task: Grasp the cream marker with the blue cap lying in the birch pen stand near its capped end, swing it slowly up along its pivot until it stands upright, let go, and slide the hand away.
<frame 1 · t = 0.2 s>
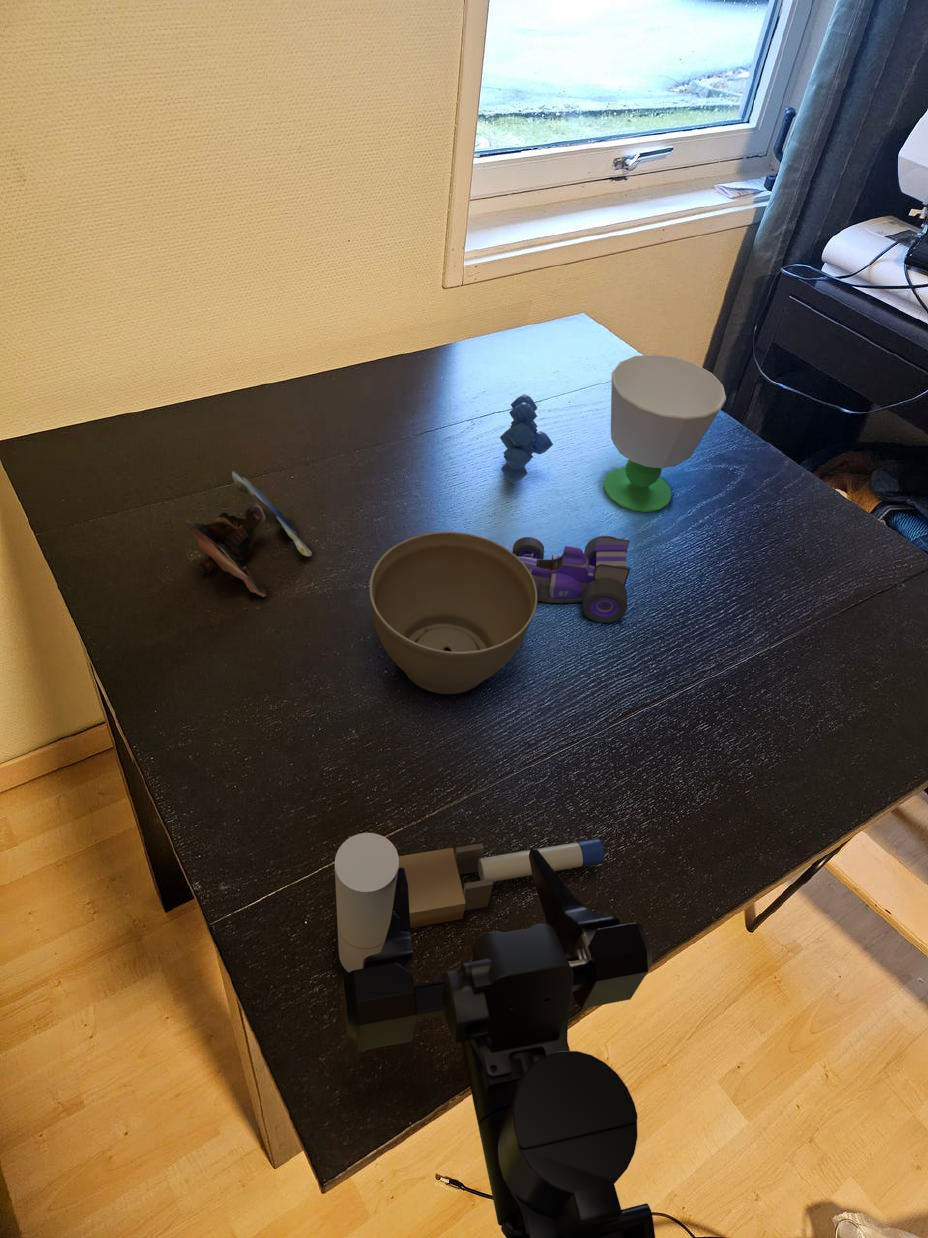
hand: (467, 860, 58), 15 cm above the table, tool horizontal, fingers open, 9 cm apart
cup: (636, 491, 113), on the table
grapes: (519, 480, 112), on the table
tube: (365, 951, 68), on the table
pen stand: (471, 888, 73), on the table
marker: (541, 860, 72), point 3 cm above the table, hinge at 0.0°
planter bowl: (445, 662, 90), on the table
figurine: (259, 559, 98), on the table
toy race car: (556, 588, 99), on the table
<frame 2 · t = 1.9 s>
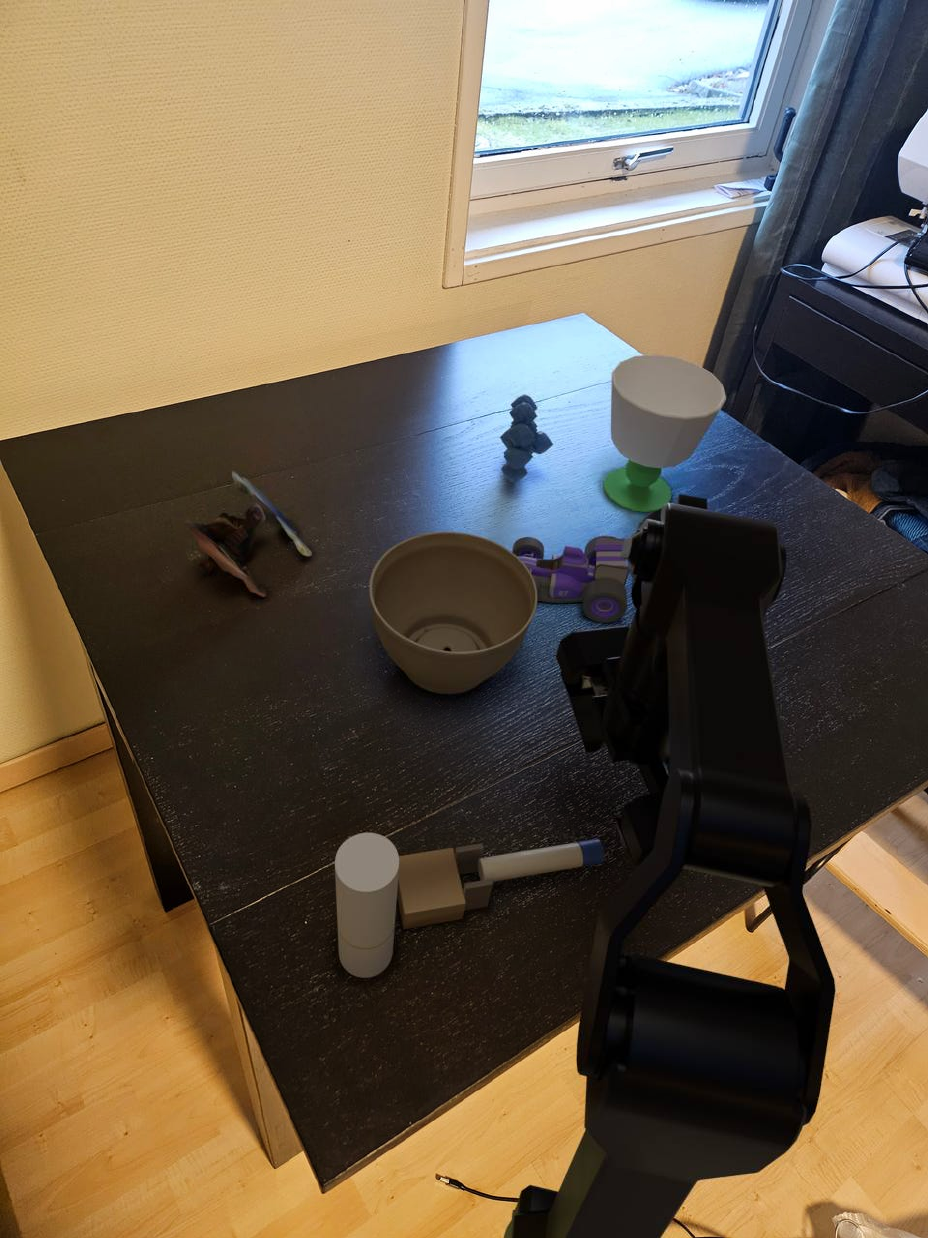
hand: (610, 799, 66), 12 cm above the table, tool pointing down, fingers open, 9 cm apart
nothing on the table moved.
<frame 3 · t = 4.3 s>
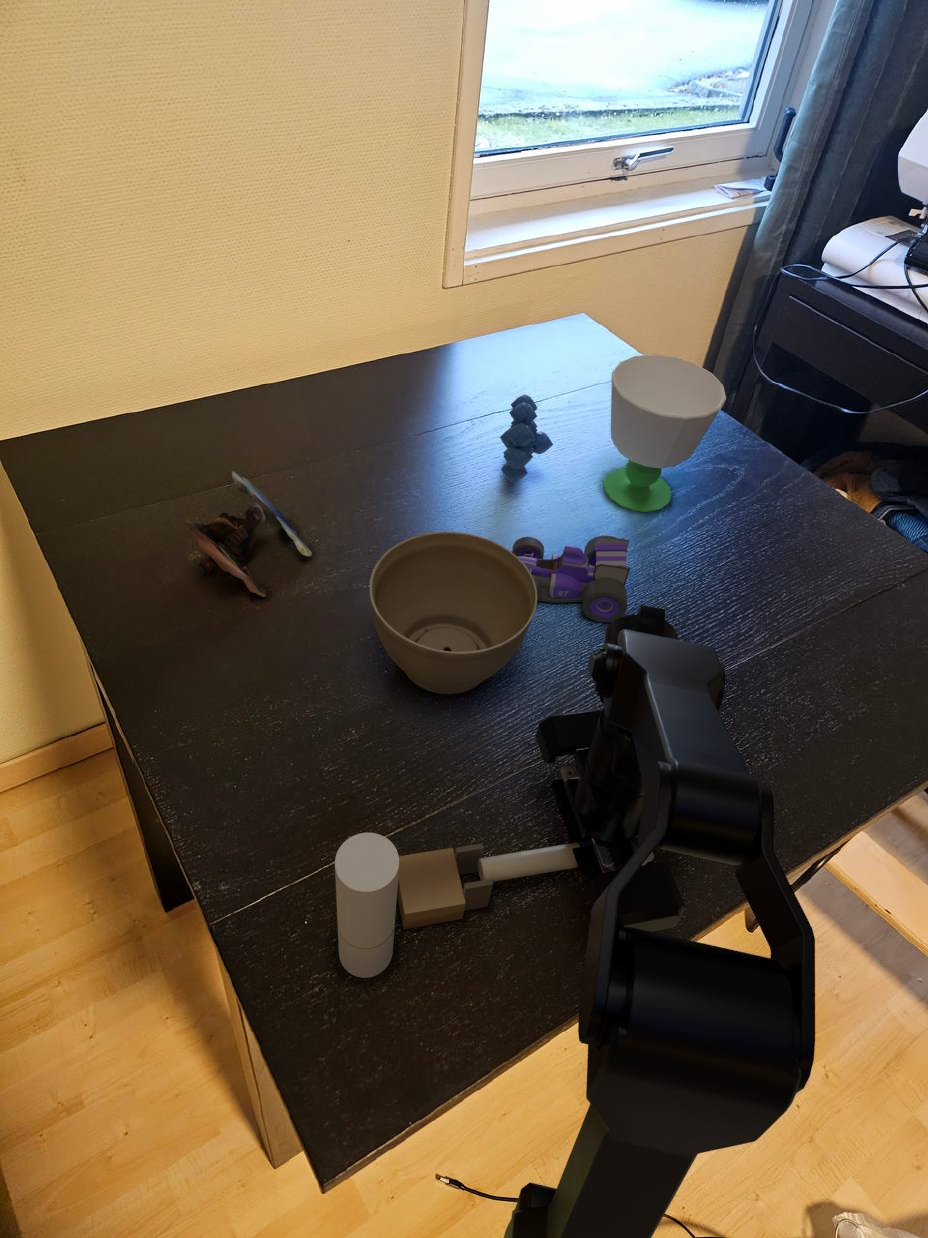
hand: (584, 864, 74), 1 cm above the table, tool pointing down, fingers closed on marker, 2 cm apart
marker: (541, 860, 72), point 3 cm above the table, hinge at 0.0°, touching gripper
everything else where it was.
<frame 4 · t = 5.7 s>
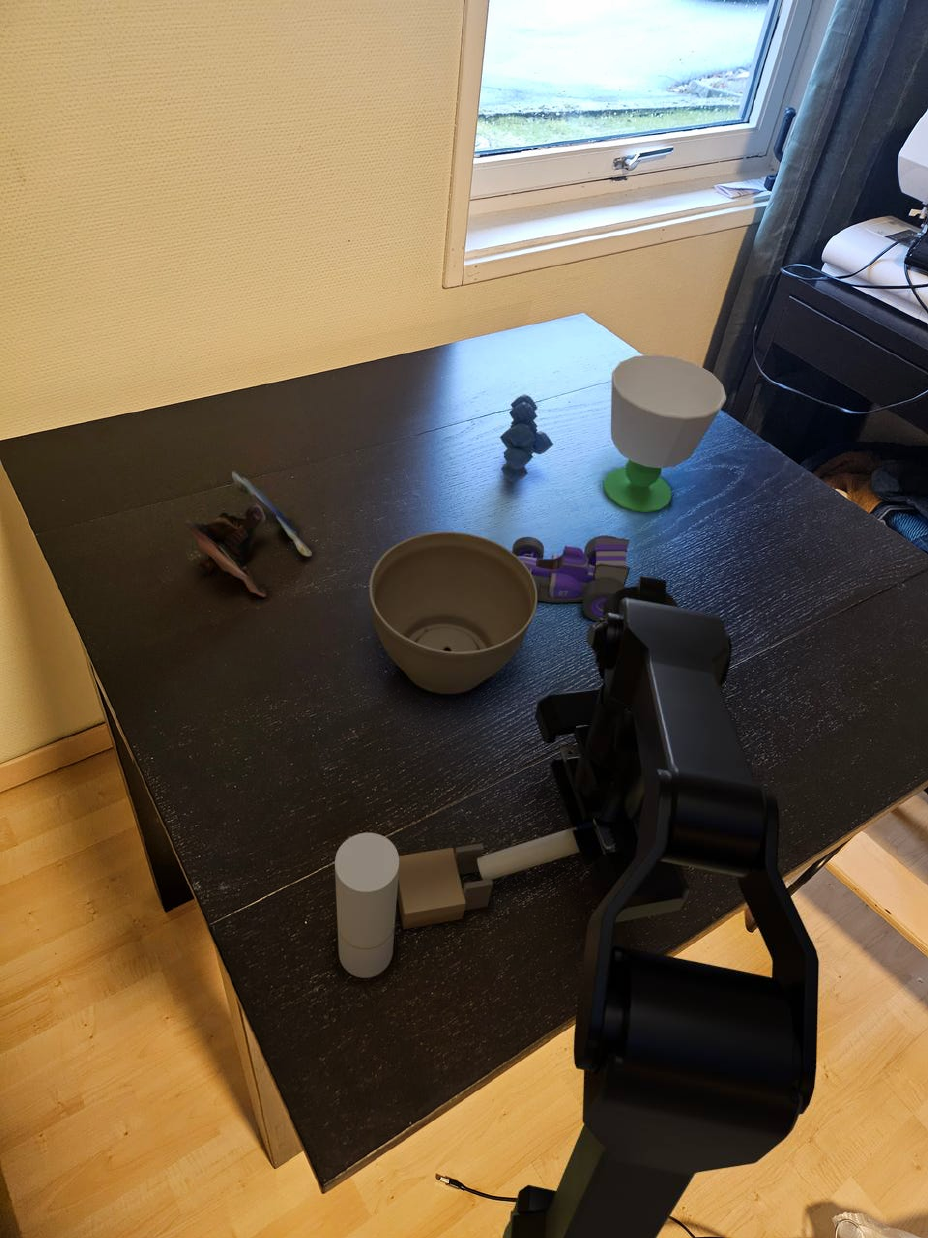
hand: (585, 848, 72), 4 cm above the table, tool pointing down, fingers closed on marker, 2 cm apart
marker: (541, 850, 70), point 5 cm above the table, hinge at 18.6°, touching gripper
everything else where it was.
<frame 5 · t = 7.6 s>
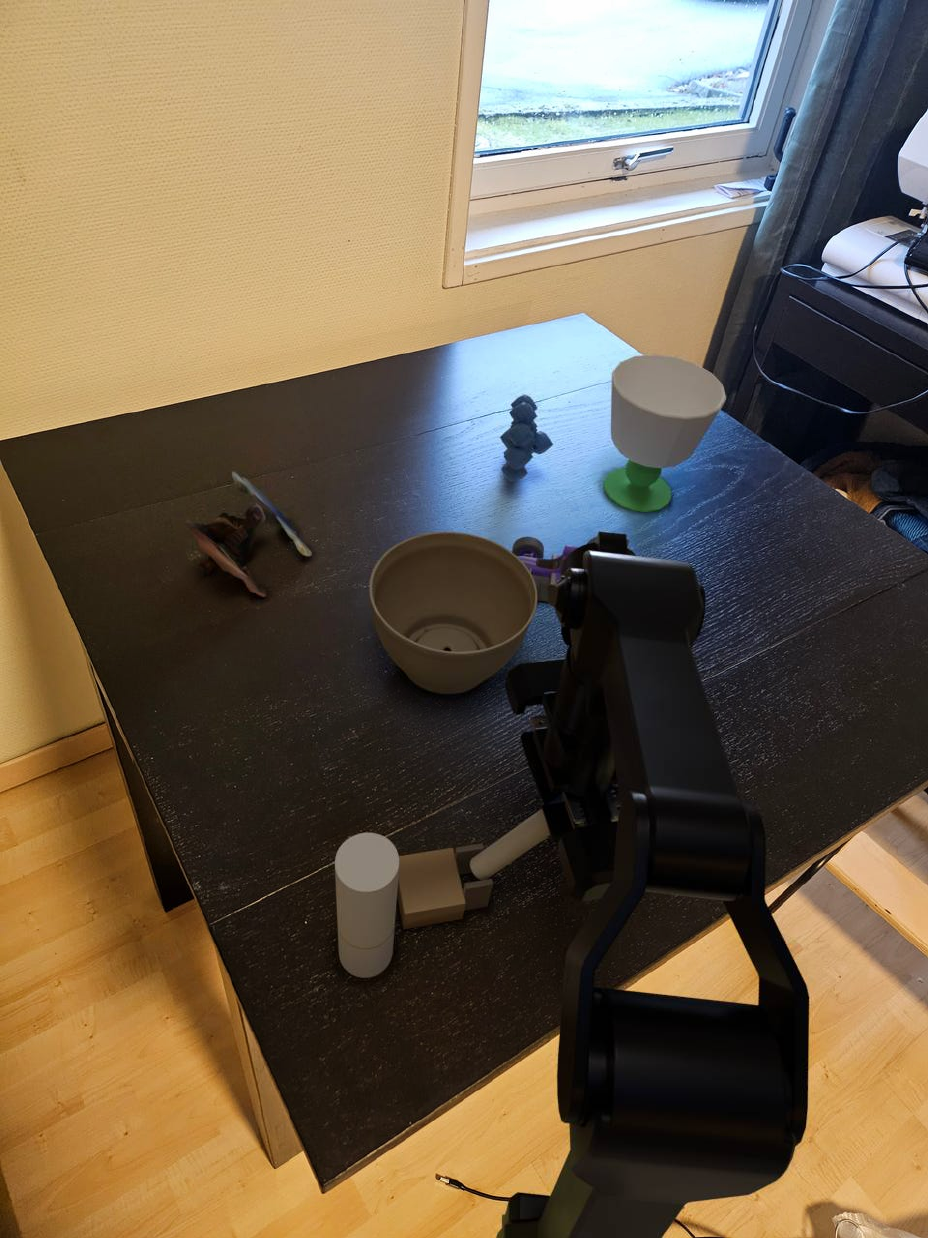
hand: (558, 826, 68), 9 cm above the table, tool pointing down, fingers closed on marker, 2 cm apart
marker: (522, 838, 68), point 8 cm above the table, hinge at 52.8°, touching gripper
everything else where it was.
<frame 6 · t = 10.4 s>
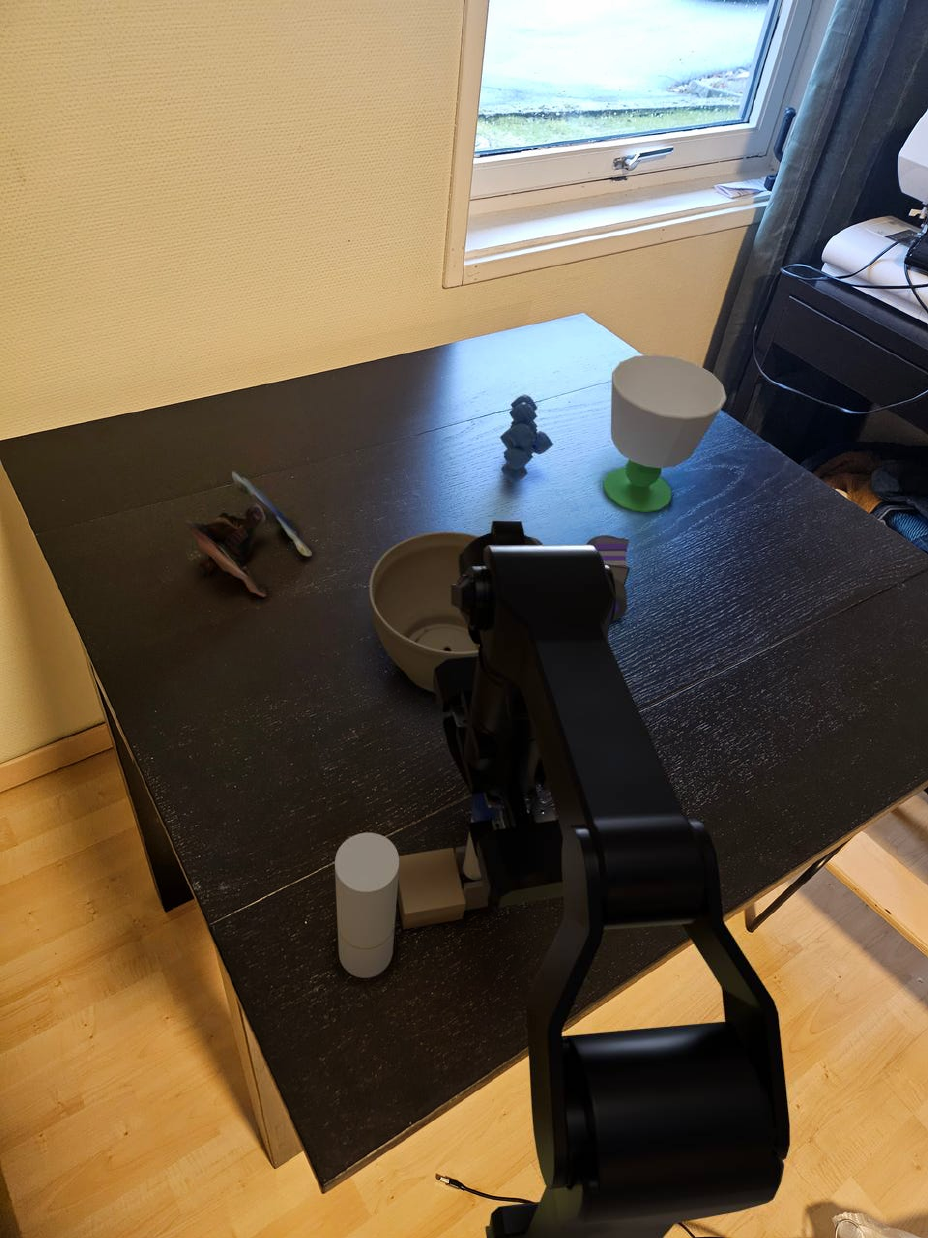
hand: (488, 828, 65), 10 cm above the table, tool pointing down, fingers open, 5 cm apart
marker: (481, 837, 66), point 9 cm above the table, hinge at 90.7°
everything else where it was.
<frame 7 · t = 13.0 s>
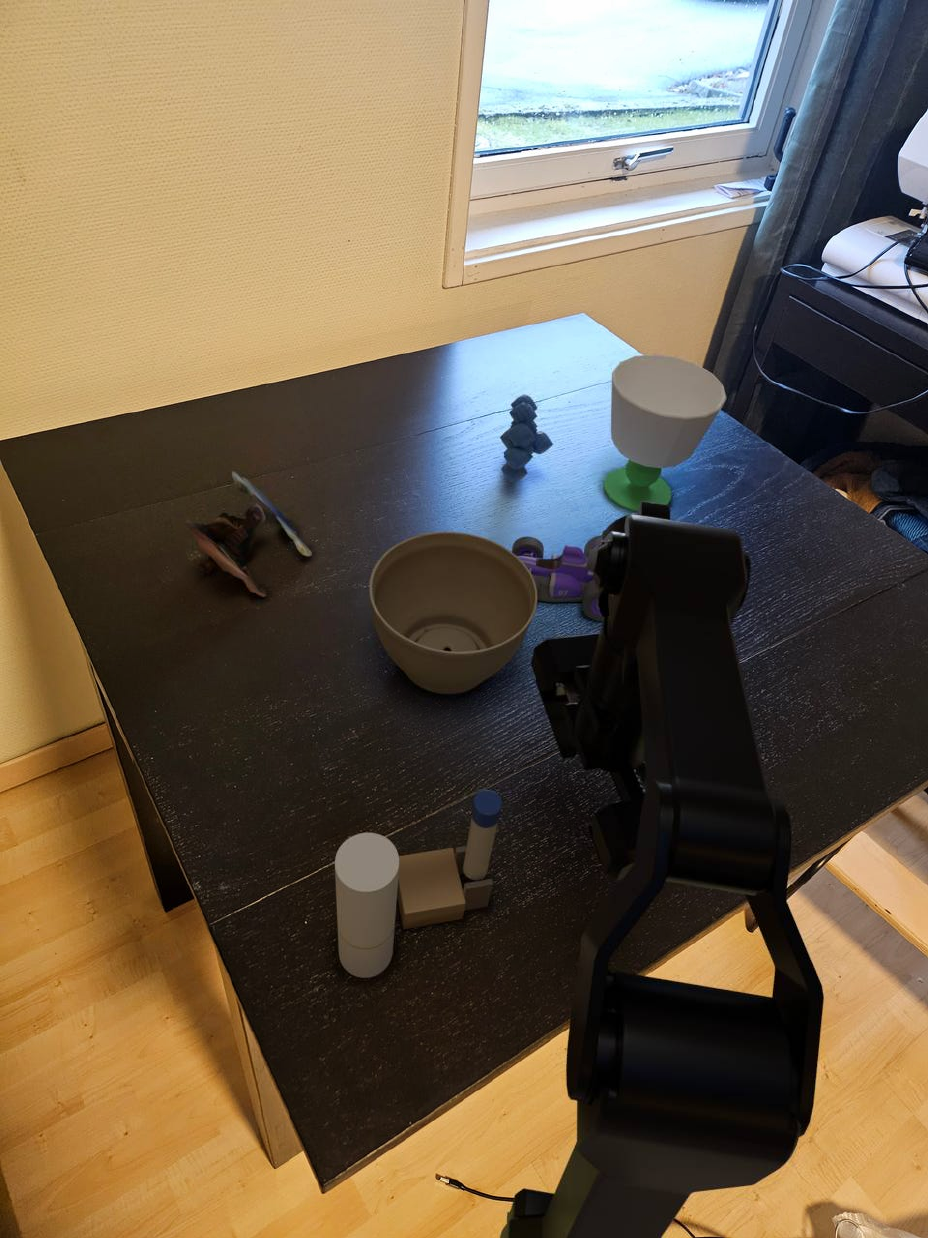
hand: (585, 806, 66), 11 cm above the table, tool pointing down, fingers open, 9 cm apart
nothing on the table moved.
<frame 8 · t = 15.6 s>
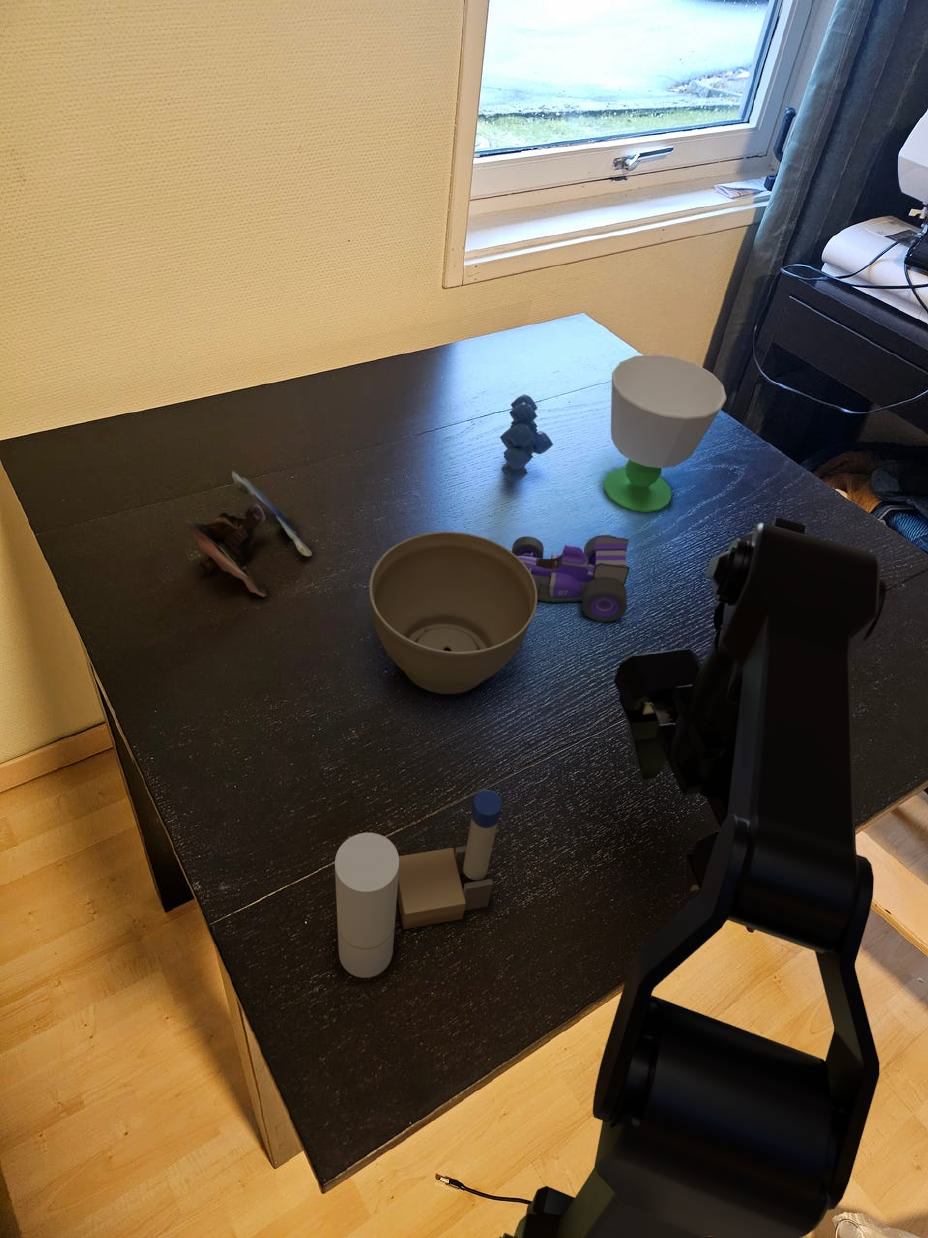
hand: (670, 830, 63), 13 cm above the table, tool pointing down, fingers open, 9 cm apart
nothing on the table moved.
at the end: marker at +91° (first picture: +0°); the gripper is holding nothing; cup moved 0.2 cm from its start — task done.
